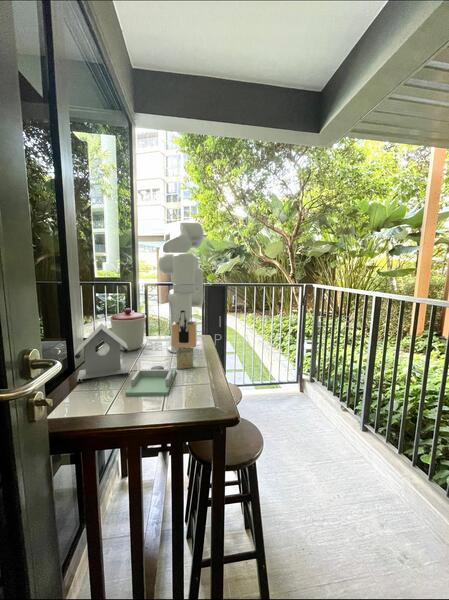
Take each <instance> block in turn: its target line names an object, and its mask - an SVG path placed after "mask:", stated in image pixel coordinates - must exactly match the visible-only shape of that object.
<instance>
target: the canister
mask: <svg viewBox="0 0 449 600" xmlns="http://www.w3.org/2000/svg"><path fill="white" fill-rule="evenodd" d="M123 311H124V312H120V313H116V314H112V316H110V317H108V320H109V321H110V325H111V331H112V332H113V333H114V334H115V335H117V336H118V337H119V338H120V339H122V340H123V341H124V342H126V344H127V347H128V352H130V351H135V350H137V349H140V348H141V347H142V345H143V343H144V338H145V337H144V336H145V326H146V318H147V315H145V314H143V313H141V312H135V311H132V309H131V308H129V307H127V308H125V309H124V310H123ZM120 351H122V352H123V347H122V345H121V344H120Z"/></svg>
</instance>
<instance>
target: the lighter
mask: <svg viewBox="0 0 449 600" xmlns="http://www.w3.org/2000/svg"><path fill="white" fill-rule="evenodd" d="M193 348H194V347H193ZM193 348H190V347H188V348H185V347H184V348H181V347H178V349H177V353H176V370H177V369H179V370H186V369H191V368H193V367H194V351H193V350H194V349H193Z"/></svg>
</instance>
